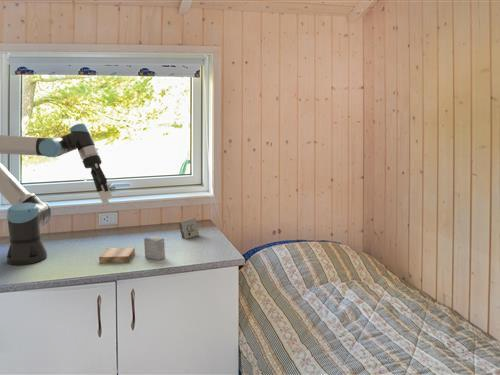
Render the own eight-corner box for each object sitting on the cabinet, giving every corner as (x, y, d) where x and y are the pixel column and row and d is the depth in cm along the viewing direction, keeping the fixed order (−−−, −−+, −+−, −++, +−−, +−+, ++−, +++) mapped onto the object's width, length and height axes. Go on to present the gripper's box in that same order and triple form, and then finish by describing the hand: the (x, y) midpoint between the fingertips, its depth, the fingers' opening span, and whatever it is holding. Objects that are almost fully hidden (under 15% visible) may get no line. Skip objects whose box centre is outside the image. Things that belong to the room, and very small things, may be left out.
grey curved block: (165, 257, 178) (164, 238, 177) (157, 260, 175) (157, 240, 173) (152, 254, 183) (151, 235, 181) (144, 257, 179) (143, 238, 178)
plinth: (99, 262, 172) (99, 257, 172) (107, 253, 184) (106, 248, 184) (128, 262, 173) (128, 256, 173) (134, 253, 185) (134, 247, 184)
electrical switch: (185, 239, 206) (184, 221, 205) (178, 238, 209) (177, 220, 208) (199, 235, 213) (197, 217, 212) (192, 235, 216) (190, 217, 216)
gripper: (101, 146, 176) (119, 193, 175) (96, 162, 198) (112, 203, 197) (83, 151, 172) (102, 199, 171) (80, 167, 195) (97, 209, 194)
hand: (107, 201), depth 184 cm, fingers open, 13 cm apart
